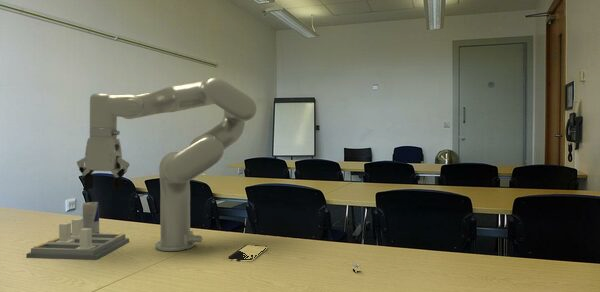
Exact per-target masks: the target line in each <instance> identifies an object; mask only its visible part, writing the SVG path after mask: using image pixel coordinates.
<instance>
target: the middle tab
mask: <svg viewBox="0 0 600 292" xmlns="http://www.w3.org/2000/svg"><path fill="white" fill-rule="evenodd" d="M71 233H72V222H62V223H59V224H58V238H59V241H56V242H74V243H75V239H71Z"/></svg>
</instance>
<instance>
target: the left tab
mask: <svg viewBox="0 0 600 292" xmlns="http://www.w3.org/2000/svg"><path fill="white" fill-rule="evenodd" d="M95 247H96V246H92V228H83V229H81V230H80V247H78V248H76V249H93V248H95Z"/></svg>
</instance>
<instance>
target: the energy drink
mask: <svg viewBox="0 0 600 292" xmlns="http://www.w3.org/2000/svg"><path fill="white" fill-rule="evenodd" d="M82 219H83V228H92V233H97V234H100V204H99V201H88V202H84V203H83V204H82Z"/></svg>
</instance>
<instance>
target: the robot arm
mask: <svg viewBox="0 0 600 292" xmlns="http://www.w3.org/2000/svg"><path fill="white" fill-rule="evenodd" d="M210 105H211V106H212V105H216V106H217V107H219V108H220V109H222V110H223V118H222V121H221V122H219V123H218V124H217V125H216V126H214V127H212V128H211V129H209V130H207V131H205V132H204V133H202V134H201V135H198V136H197V137H195V138H194V139H193V140H192V141H191V142H190V144H189V145H188V146H187V147H186V148H184V149H182V150H180V151H173V152H169V153H167V154H164V156H163V157H162V159H161V160H160V162H159V167H158V170H159V171H158V172H159V184H160V185H159V186H160V191H159V193H160V200H159V201H160V213H159V214H160V218H159V219H160V222H159V223H160V226H159V227H160V240H159V241H158V242H156V243H155V249H156V250H158V251H163V252H178V251H185V249H186V250H189V249H191V248H193V247H194V246H195V245H196V243H203V236H202V235H199V234H198V235H196V234H194V231H193V230H191V184H190V183H191V182H190V181H192V180H193V179H195V178H197V177H198V176H200V175H201V174H203V173H205V172H206V171H207V170H209V169H210V168H212V167H213V166H215V165H216V164H218V163H219V162H220V160H221V159H222V158H223V155H224V151H225V150H226V149H228V148H229V147H230V146H232V145H234V143H236V142H237V141H238V140H239V139H240V138H241V136H242V134H243V132H244V129H245V126H246V125H245V124H246V121H249V120H252V119H253V118H254V117H255V115H256V113H257V104H256V102H255V101H254V99H253V98H252V97H250V96H249V95H247V94H246V93H244V92H243V91H241V90H240V89H238V88H236V87H235V86H233V85H232V84H230V83H228V82H227V81H225V80H224V79H222V78H219V77H215V76H214V77H210V78H208V79H204V80H199V81H193V82H188V83H187V82H186V83H182V84H174V85H169V86H167V87H165V88H162V89H159V90H156V91H151V92H147V93H142V94H136V95H135V94H132V93H131V94H129V93H128V94H112V93H111V94H110V93H100V92H99V93H97V92H96V93H93V94H91V95H90V97H89V137H88V138H87V140H86V146H85V151H84V152H85V153H84V157H83V158H81V159H79V160H78V161H76V165H77V167H78V170H79V171H80V172H81V175H82V177H83V178H84V179H83V189H84V190H89V189H93V188H94V175H92V174H93V173H94V172H95V171H96V172H97V171H98V172H111V173H112V175H113V176H114V177H112V191H115V192H116V191H120V190H122V180H123V179H122V178H123V177H124V175H125V174H126V173H127V171H128V168H129V167H130V162H129V161H126V160H125V159H123V155H122V146H121V141H120V138H117V137H118V136H120V134H121V133H120V130H118V125H117V123H118V121H117V120H118V117H121V118H123V119H126V120H133V119H134V120H135V119H139V118H143V117H148V116H153V115H158V114H167V113H175V112H180V111H186V110H190V109H195V108H201V107H205V106H210Z"/></svg>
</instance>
